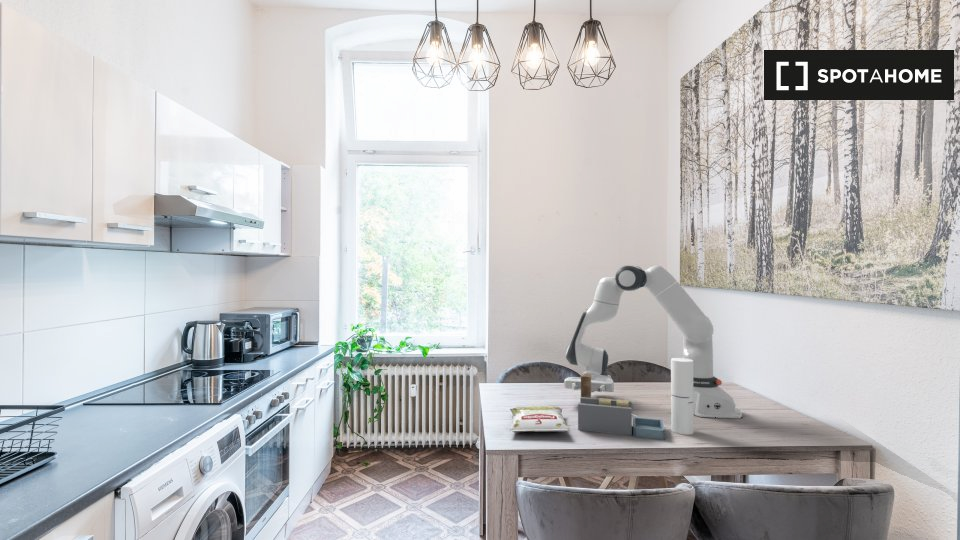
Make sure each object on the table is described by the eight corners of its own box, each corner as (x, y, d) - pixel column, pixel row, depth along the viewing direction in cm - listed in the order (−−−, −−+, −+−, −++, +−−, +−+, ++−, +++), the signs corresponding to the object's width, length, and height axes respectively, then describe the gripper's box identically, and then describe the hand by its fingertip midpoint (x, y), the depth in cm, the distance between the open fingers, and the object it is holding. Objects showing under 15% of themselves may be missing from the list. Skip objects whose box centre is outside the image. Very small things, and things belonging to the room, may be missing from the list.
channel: (631, 425, 162) (631, 401, 162) (631, 435, 152) (631, 408, 152) (580, 420, 167) (580, 396, 167) (578, 429, 158) (578, 404, 158)
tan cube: (610, 409, 161) (610, 398, 161) (610, 413, 157) (610, 401, 157) (599, 408, 162) (599, 397, 162) (598, 412, 158) (598, 400, 158)
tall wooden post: (591, 415, 174) (591, 374, 174) (590, 419, 169) (590, 376, 170) (582, 414, 175) (582, 373, 175) (580, 418, 170) (580, 376, 171)
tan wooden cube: (628, 411, 159) (628, 400, 159) (628, 414, 155) (628, 403, 155) (616, 410, 160) (616, 399, 160) (616, 413, 156) (616, 402, 157)
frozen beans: (562, 400, 173) (571, 421, 148) (563, 415, 173) (572, 438, 148) (509, 401, 175) (509, 422, 150) (509, 416, 175) (509, 439, 150)
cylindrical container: (668, 427, 160) (667, 357, 160) (688, 427, 160) (687, 357, 160) (676, 434, 153) (675, 361, 153) (697, 434, 153) (696, 361, 153)
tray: (662, 428, 159) (662, 419, 159) (665, 439, 148) (665, 430, 148) (632, 425, 162) (632, 416, 162) (633, 436, 151) (633, 427, 151)
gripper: (565, 372, 196) (561, 379, 182) (614, 375, 189) (613, 382, 176) (565, 386, 196) (561, 394, 182) (614, 390, 189) (613, 398, 176)
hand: (587, 388), depth 179 cm, fingers open, 8 cm apart
